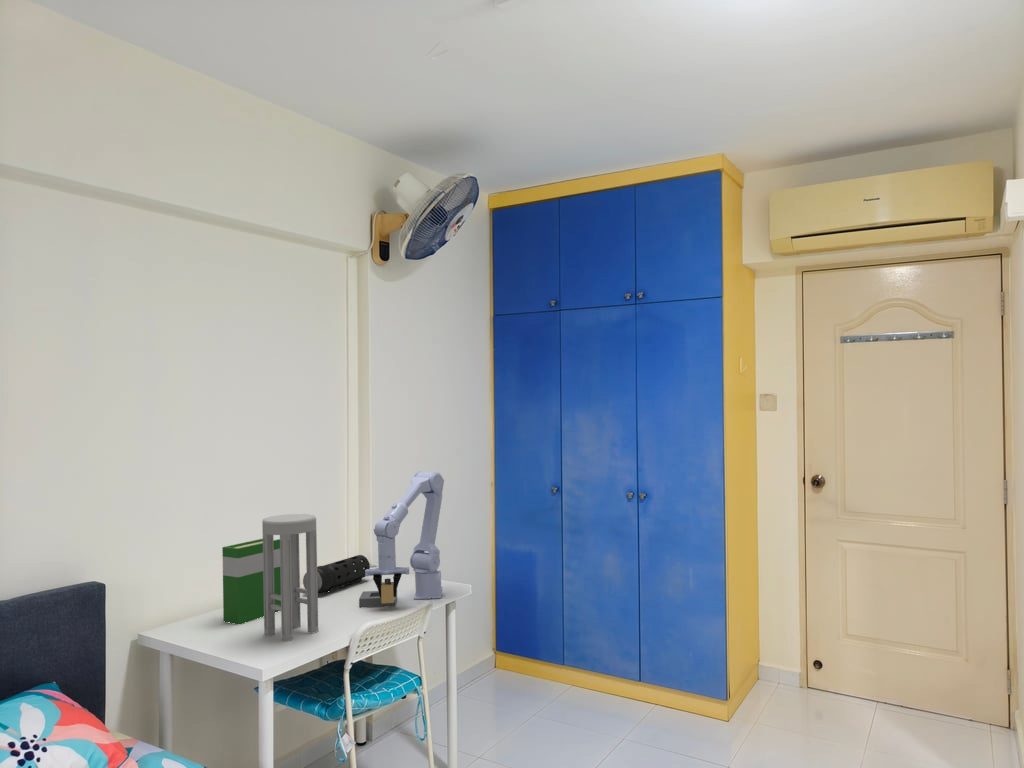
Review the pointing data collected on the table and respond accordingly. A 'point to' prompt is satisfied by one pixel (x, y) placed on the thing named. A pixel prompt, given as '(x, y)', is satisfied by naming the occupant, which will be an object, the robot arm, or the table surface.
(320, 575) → the muzzle brake
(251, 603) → the hardback book
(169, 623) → the table surface
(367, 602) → the socket housing
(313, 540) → the stool
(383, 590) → the plug
